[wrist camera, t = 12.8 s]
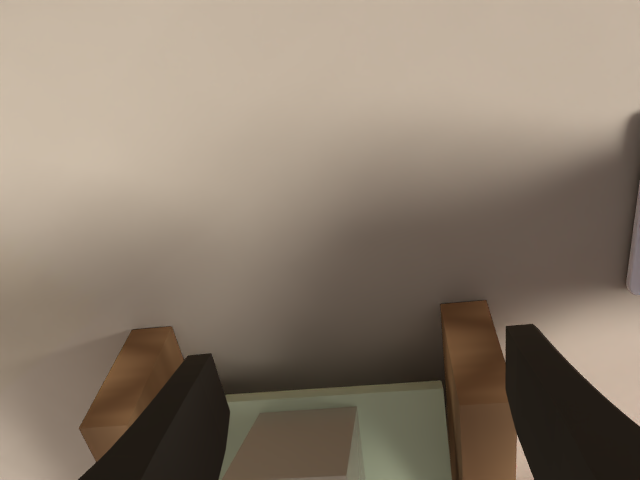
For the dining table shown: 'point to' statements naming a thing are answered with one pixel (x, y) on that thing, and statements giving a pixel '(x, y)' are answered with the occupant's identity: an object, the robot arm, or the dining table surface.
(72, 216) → the dining table surface
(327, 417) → the granite block
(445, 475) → the trapdoor
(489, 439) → the frame
